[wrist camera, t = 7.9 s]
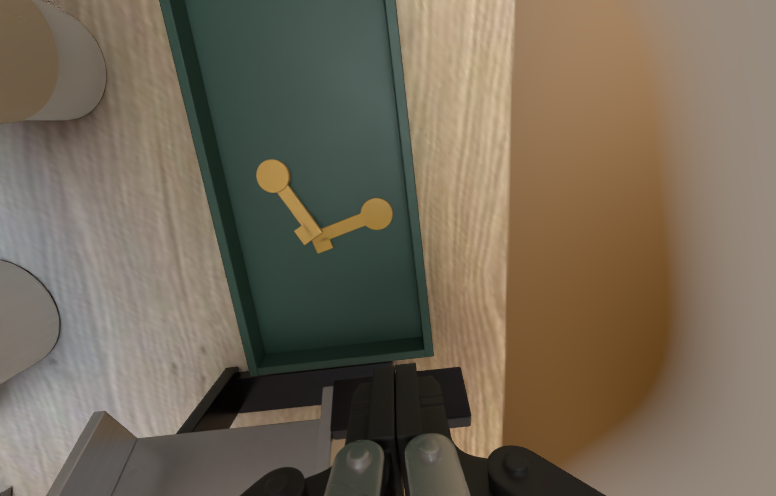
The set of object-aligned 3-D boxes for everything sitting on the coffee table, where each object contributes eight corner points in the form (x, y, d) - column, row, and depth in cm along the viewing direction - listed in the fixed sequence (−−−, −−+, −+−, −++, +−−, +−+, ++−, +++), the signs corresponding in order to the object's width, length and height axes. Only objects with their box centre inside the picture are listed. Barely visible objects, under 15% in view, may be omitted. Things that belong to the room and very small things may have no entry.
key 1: (277, 152, 25) (274, 152, 25) (331, 226, 26) (329, 227, 26) (252, 172, 26) (249, 172, 25) (305, 244, 26) (304, 245, 26)
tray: (261, 359, 30) (250, 376, 27) (154, -102, 22) (126, -132, 20) (430, 340, 29) (434, 356, 27) (378, -138, 22) (376, -173, 19)
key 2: (385, 193, 25) (385, 192, 26) (304, 225, 26) (306, 223, 27) (397, 223, 26) (397, 222, 26) (317, 254, 27) (319, 252, 27)
